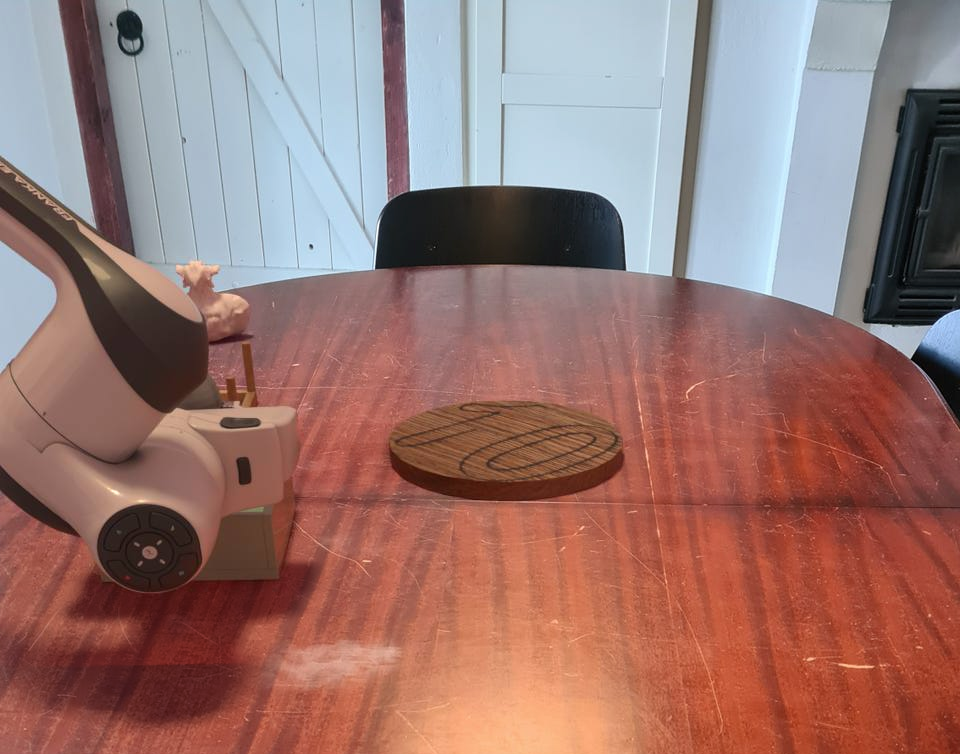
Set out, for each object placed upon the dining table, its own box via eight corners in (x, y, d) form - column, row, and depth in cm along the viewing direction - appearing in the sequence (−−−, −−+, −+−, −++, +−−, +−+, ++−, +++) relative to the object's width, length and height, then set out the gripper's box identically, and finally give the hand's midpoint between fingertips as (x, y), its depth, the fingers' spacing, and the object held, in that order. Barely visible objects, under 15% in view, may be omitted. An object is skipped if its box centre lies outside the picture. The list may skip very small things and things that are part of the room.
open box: (101, 582, 109) (87, 517, 105) (136, 512, 121) (125, 452, 117) (278, 579, 109) (271, 514, 105) (295, 510, 121) (289, 450, 118)
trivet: (341, 456, 133) (340, 439, 132) (502, 402, 147) (502, 386, 146) (509, 521, 119) (509, 502, 118) (669, 454, 133) (671, 436, 132)
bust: (167, 356, 170) (144, 300, 159) (171, 309, 172) (149, 250, 161) (254, 356, 170) (237, 299, 159) (256, 308, 172) (240, 250, 161)
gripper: (44, 513, 99) (71, 452, 109) (302, 501, 100) (303, 442, 111) (26, 435, 95) (56, 379, 106) (294, 423, 96) (296, 370, 107)
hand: (184, 412), depth 108 cm, fingers closed on beverage cup, 7 cm apart
